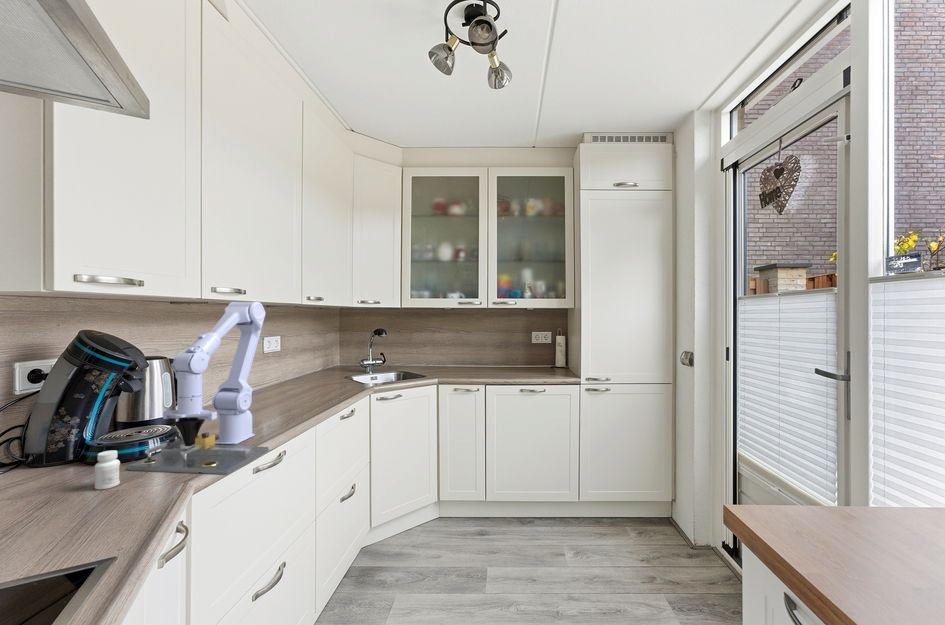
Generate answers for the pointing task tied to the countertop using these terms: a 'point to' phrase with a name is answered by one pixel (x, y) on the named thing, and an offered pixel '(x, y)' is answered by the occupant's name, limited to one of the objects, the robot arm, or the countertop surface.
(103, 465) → the pill bottle
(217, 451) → the rail
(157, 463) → the flange plate
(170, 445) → the fixed leg
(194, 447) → the sliding leg
